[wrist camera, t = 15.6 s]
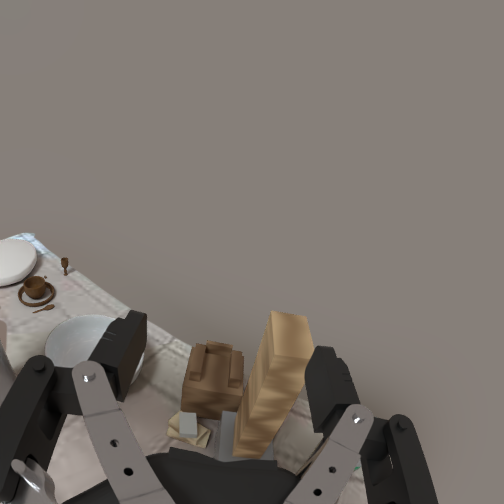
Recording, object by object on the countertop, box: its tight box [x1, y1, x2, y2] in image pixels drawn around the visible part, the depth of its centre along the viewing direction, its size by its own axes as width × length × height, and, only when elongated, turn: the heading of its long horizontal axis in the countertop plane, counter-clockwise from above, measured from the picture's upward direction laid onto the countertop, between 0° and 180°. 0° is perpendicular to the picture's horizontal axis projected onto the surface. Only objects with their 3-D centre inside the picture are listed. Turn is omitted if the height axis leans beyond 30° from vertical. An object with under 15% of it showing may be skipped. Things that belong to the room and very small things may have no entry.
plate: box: [0, 239, 37, 286], centre depth 63 cm, size 28×6×27 cm
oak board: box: [232, 311, 314, 459], centre depth 31 cm, size 4×7×22 cm, turn 179°
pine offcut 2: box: [167, 426, 211, 448], centre depth 40 cm, size 7×4×2 cm, turn 81°
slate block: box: [214, 411, 274, 462], centre depth 37 cm, size 8×10×8 cm
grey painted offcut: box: [179, 412, 197, 438], centre depth 39 cm, size 4×3×2 cm, turn 10°
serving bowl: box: [45, 315, 144, 385], centre depth 46 cm, size 21×21×7 cm
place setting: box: [18, 258, 68, 313], centre depth 63 cm, size 18×20×6 cm
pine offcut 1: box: [168, 410, 208, 446], centre depth 40 cm, size 6×3×2 cm, turn 59°
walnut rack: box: [181, 340, 244, 421], centre depth 47 cm, size 10×10×12 cm
